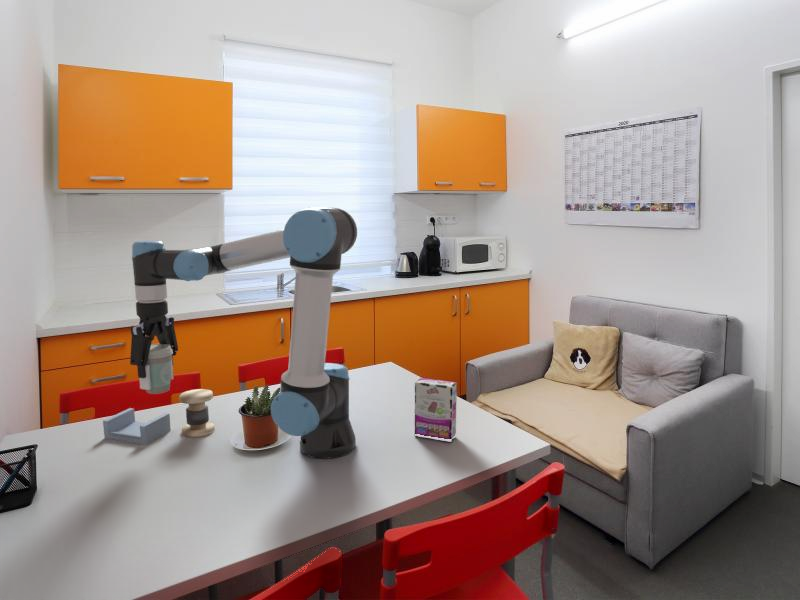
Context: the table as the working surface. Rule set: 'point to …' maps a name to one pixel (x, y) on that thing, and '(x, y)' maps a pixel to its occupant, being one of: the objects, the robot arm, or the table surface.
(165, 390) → the coffee cup
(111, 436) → the u-shaped channel bracket
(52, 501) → the table surface
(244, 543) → the table surface
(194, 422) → the bobbin
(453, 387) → the candy bar box
